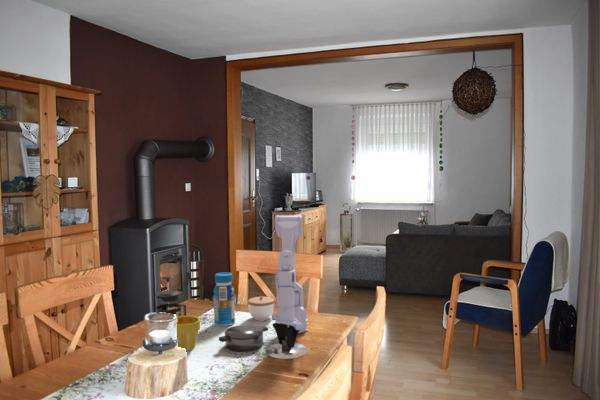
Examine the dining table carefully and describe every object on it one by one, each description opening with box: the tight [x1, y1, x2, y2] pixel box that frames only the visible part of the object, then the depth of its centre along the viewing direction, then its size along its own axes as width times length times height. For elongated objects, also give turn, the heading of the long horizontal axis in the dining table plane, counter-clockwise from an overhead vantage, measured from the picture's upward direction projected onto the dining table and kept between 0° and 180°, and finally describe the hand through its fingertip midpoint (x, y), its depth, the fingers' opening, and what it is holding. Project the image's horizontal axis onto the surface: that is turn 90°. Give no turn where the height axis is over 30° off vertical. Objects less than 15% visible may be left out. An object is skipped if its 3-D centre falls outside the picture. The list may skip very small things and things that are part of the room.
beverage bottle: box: [212, 271, 236, 327], centre depth 197 cm, size 8×8×20 cm
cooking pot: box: [218, 324, 269, 353], centre depth 173 cm, size 19×13×5 cm
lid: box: [265, 337, 308, 360], centre depth 167 cm, size 14×14×4 cm
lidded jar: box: [247, 295, 275, 322], centre depth 204 cm, size 11×11×9 cm
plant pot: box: [176, 315, 201, 351], centre depth 171 cm, size 10×10×10 cm
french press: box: [155, 275, 187, 317], centre depth 180 cm, size 12×9×23 cm
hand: (286, 345), depth 167 cm, fingers open, 4 cm apart
